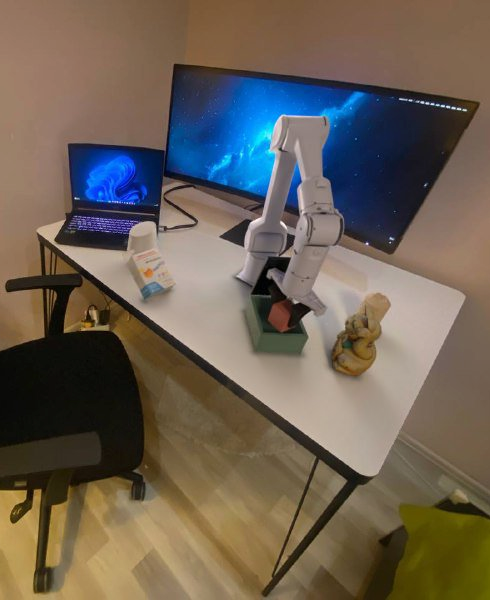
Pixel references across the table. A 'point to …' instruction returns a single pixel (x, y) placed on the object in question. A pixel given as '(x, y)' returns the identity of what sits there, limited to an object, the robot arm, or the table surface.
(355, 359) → the decorative figurine
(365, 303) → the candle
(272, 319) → the red block
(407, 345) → the table surface
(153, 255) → the ink box
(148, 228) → the smart speaker
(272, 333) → the green open box
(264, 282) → the black square lid
